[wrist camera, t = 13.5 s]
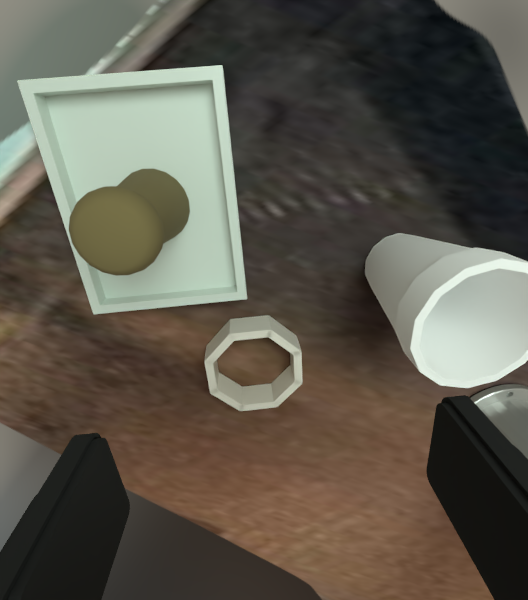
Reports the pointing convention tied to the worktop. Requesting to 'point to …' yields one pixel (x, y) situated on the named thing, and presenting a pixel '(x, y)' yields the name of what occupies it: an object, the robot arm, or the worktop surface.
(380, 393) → the worktop surface
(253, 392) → the collar
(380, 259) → the foam cup
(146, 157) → the tray
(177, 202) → the cork
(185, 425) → the worktop surface
